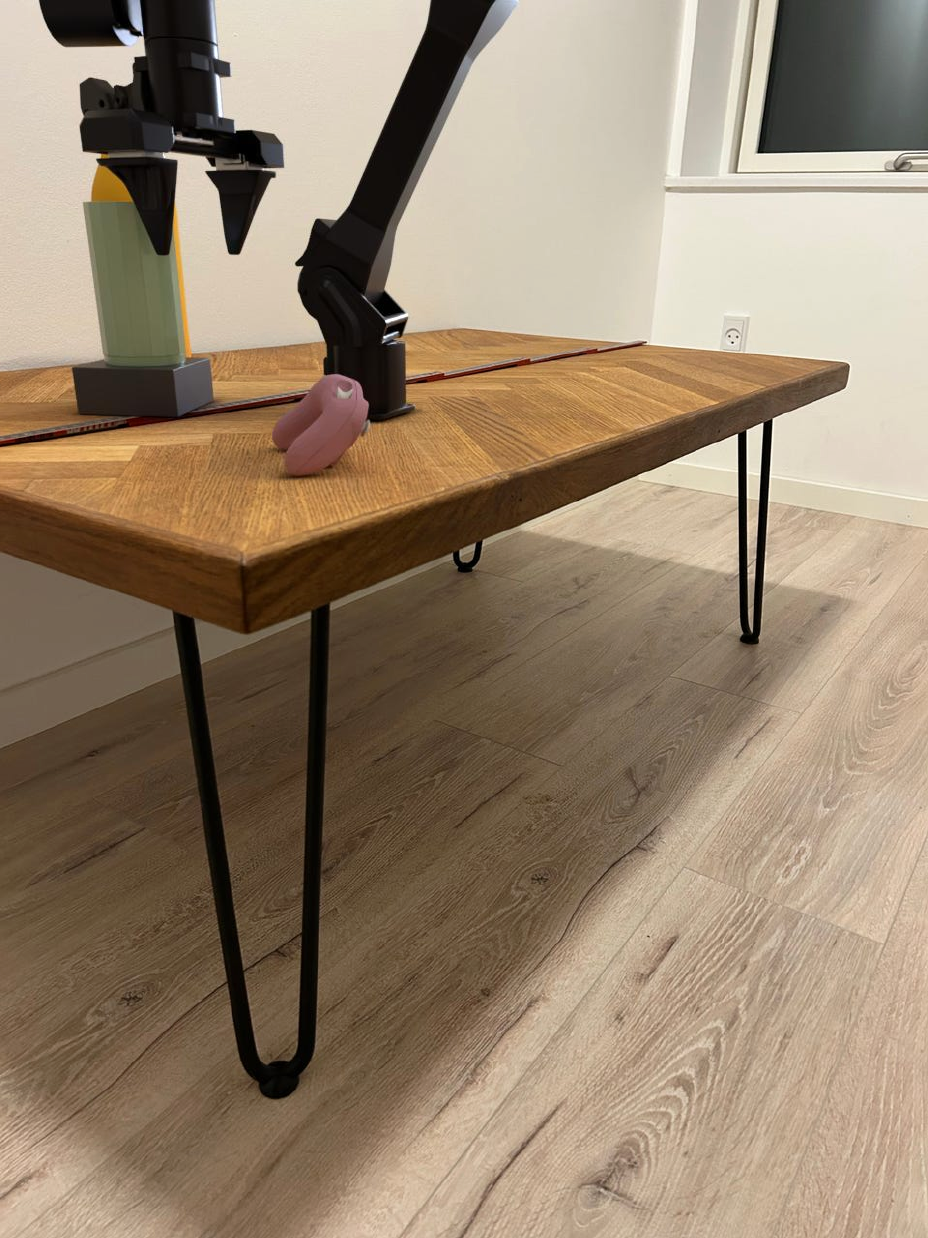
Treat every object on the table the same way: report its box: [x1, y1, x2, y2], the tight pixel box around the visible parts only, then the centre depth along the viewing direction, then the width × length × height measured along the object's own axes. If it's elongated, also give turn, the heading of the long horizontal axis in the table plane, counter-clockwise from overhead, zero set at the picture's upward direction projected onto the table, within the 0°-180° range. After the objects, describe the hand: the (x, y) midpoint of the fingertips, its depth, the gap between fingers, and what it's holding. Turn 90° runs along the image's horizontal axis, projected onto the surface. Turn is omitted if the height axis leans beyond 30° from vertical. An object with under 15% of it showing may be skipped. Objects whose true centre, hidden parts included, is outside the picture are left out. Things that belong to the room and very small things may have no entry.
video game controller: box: [271, 374, 371, 477], centre depth 63 cm, size 10×5×7 cm, turn 17°
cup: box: [82, 201, 187, 367], centre depth 79 cm, size 7×7×13 cm
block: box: [71, 356, 215, 418], centre depth 83 cm, size 9×9×4 cm
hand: (200, 254), depth 79 cm, fingers open, 9 cm apart
